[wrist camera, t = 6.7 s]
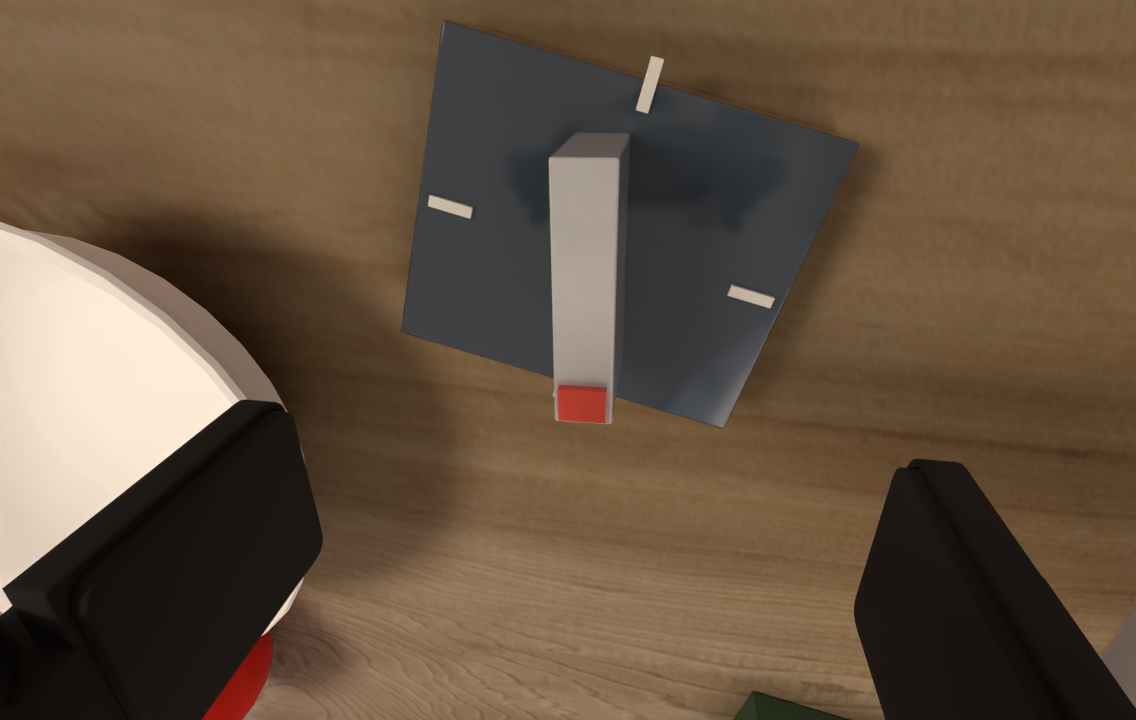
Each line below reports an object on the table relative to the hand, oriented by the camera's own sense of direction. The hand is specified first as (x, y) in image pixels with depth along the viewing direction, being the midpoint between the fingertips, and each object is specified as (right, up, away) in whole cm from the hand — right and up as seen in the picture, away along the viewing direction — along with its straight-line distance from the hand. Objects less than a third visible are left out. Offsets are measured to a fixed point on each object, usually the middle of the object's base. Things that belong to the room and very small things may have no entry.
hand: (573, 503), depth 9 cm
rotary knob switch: (+1, +7, +12) cm, 13 cm away
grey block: (+1, +6, +9) cm, 11 cm away
